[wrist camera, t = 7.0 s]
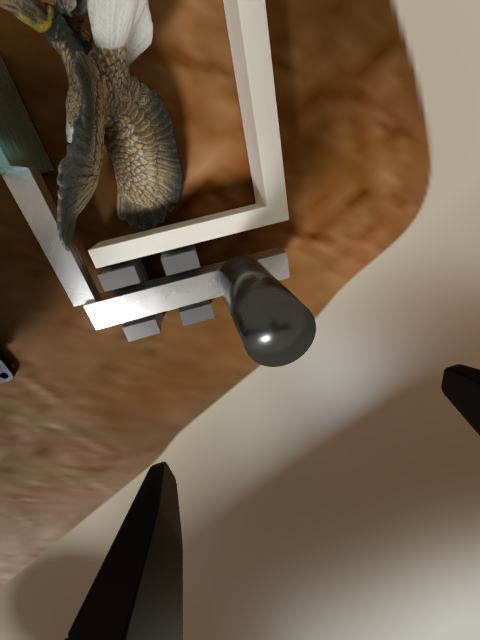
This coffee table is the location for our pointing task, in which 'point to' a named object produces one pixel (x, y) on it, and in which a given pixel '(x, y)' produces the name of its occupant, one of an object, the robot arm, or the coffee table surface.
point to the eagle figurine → (108, 110)
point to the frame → (261, 141)
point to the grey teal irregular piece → (162, 293)
